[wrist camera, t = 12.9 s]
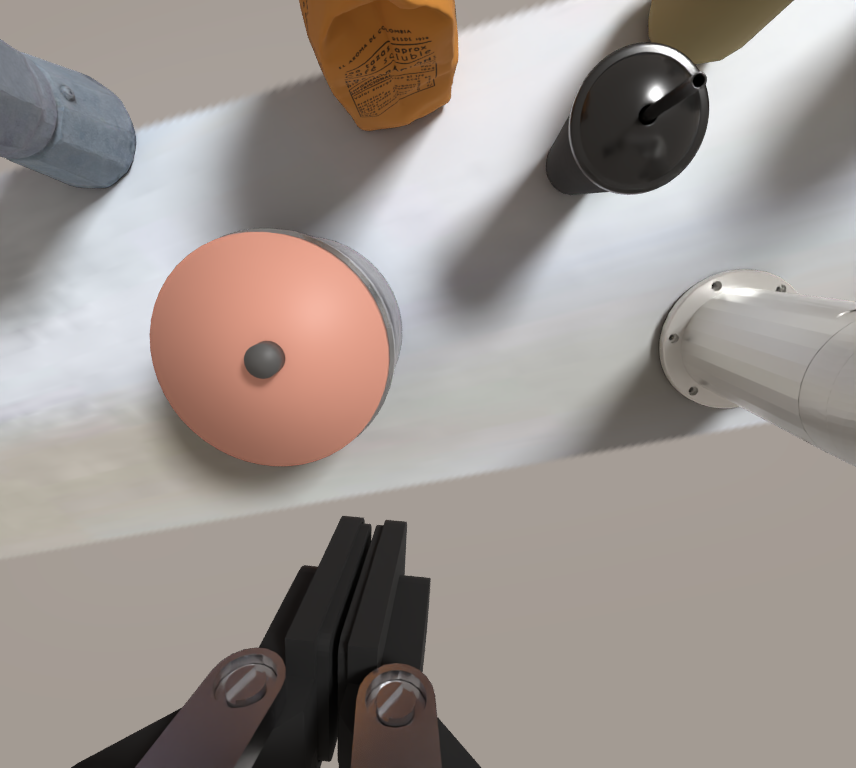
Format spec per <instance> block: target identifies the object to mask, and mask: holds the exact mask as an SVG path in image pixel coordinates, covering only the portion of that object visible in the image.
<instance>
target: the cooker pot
mask: <svg viewBox="0 0 856 768" xmlns="http://www.w3.org/2000/svg"><path fill="white" fill-rule="evenodd" d="M244 232H270V233H278V234H286V235H290V236H294V237H297V238H301V239H304V240H306V241H309V242H311V243H314V244H316V245H318V246H320V247H322V248H323V249H325V250H327V251H329V252H330V253H332V254H333V255H335V256H336V257H337V258H339V259H340V260H341V261H343V262H344V263H345V264H346V265H347V266H348V267H349V268H350V269H351V270H352V271H353V272H354V273H356V274H357V276H358V277H359V278H360V279H361V281H362V282H363V283H364V284H365V286H366V287H367V288H368V290H369V292H370V293H371V295H372V296H373V298H374V300H375V301H376V304H377V306H378V308H379V310H380V312H381V315H382V317H383V321H384V324H385V327H386V330H387V336H388V342H389V356H390V362H389V372H388V378H387V382H386V387H385V390H384V393H383V395H382V398H381V400H380V403H379V405H378V407H377V409H376V411H375V413H374V415H373V416H372V418H371V420H370V421H369V422H368V424H367V425H366V426H365V428H364V429H363V430H362V431H361V432H360V433H359V434H358V435H357V436H356V437H358V436H359V435H360V434H361V433H362V432H363V431H364V430H365V429H366V428H367V427H368V426H369V425H370V423H371V422H372V421H373V419H374V418H375V417H376V415H377V414H378V412H379V410H380V409H381V407H382V405H383V403H384V401H385V399H386V396H387V394H388V391H389V389H390V386H391V382H392V378H393V374H394V369H395V366H396V363H397V361H398V358H399V354H400V350H401V343H402V322H401V316H400V311H399V307H398V304H397V301H396V299H395V296H394V294H393V292H392V290H391V288H390V286H389V285H388V283H387V281H386V280H385V278H384V277H383V276H382V274H381V273H380V272H379V271H378V269H377V268H376V267H375V266H374V265H373V264H372V263H371V262H370V261H369V260H367V259H366V258H365V257H363V256H362V255H361V254H359V253H358V252H356V251H355V250H353V249H351V248H349V247H348V246H345V245H343V244H340V243H338V242H336V241H332V240H328V239H324V238H317V237H312V236H310V235H307V234H303V233H299V232H295V231H291V230H283V229H275V228H254V229H248V230H241V231H237V232H234V233H231V234H237V233H244ZM231 234H227V235H231ZM227 235H224V236H227ZM224 236H222V237H224ZM220 238H221V237H220ZM356 437H355V438H356ZM355 438H354V439H355ZM354 439H353V440H354Z"/></svg>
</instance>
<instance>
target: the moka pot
mask: <svg viewBox="0 0 856 768" xmlns="http://www.w3.org/2000/svg"><path fill="white" fill-rule="evenodd" d="M135 145H136V136H135V131H134V127H133V124H132V121H131V119H130V117H129V114H128V112H127V111H126V109H125V107H124V105H123V103H122V101H121V100H120V99H119V98H118V97H117V96H116V95H115V94H114V93H113V92H111V91H110V90H109V89H107V88H106V87H105V86H103V85H102V84H100V83H99V82H97V81H96V80H94V79H92V78H91V77H89V76H87V75H84V74H82V73H80V72H77V71H74V70H71V69H68V68H65V67H62V66H60V65H57V64H54V63H51V62H48V61H45V60H42V59H40V58H37V57H34V56H32V55H29V54H26V53H23V52H19V51H17V50H16V49H14V48H12V47H11V46H10V45H8V44H7V43H5V42H4V41H2V40H1V39H0V156H1V157H4V158H6V159H8V160H10V161H12V162H14V163H17V164H19V165H22V166H24V167H27V168H30V169H32V170H34V171H37V172H39V173H42V174H45V175H47V176H49V177H51V178H54V179H56V180H59V181H61V182H63V183H66V184H68V185H71V186H74V187H80V188H107V187H109V186H111V185H112V184H114V183H115V182H117V181H118V180H119V179H120V178H121V177H122V176H123V175H124V174H125V173H127V171H128V169H129V168H130V165H131V163H132V161H133V158H134V152H135Z"/></svg>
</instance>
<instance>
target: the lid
mask: <svg viewBox="0 0 856 768" xmlns="http://www.w3.org/2000/svg"><path fill="white" fill-rule="evenodd" d="M150 350H151V356H152V361H153V366H154V369H155V373H156V376H157V379H158V382H159V384H160V386H161V388H162V390H163V393H164V395H165V396H166V398H167V400H168V401H169V403H170V405H171V406H172V408H173V409H174V410H175V412H176V413H177V414H178V416H179V417H180V418H181V419H182V421H183V422H184V423H185V424H186V425H187V426H188V427H189V428H190V429H191V430H192V431H193V432H194V433H196V434H197V435H198V436H199V437H201V438H202V439H203V440H204V441H206V442H207V443H209V444H210V445H212V446H213V447H215V448H216V449H218V450H220V451H222V452H224V453H226V454H228V455H230V456H233V457H236V458H238V459H241V460H244V461H247V462H252V463H256V464H261V465H269V466H293V465H301V464H306V463H310V462H314V461H317V460H320V459H322V458H325V457H327V456H329V455H331V454H333V453H335V452H337V451H338V450H340V449H342V448H343V447H344V446H346V445H347V444H348V443H350V442H351V441H352V440H353V439H354V438H355V437H356V436H357V435H358V434H359V433H360V432H361V431H362V430H363V429H364V428H365V426H366V425H367V424H368V422H369V421H370V420H371V418H372V416H373V415H374V413H375V411H376V409H377V407H378V405H379V403H380V400H381V398H382V395H383V393H384V390H385V387H386V382H387V378H388V372H389V362H390V356H389V342H388V336H387V330H386V327H385V324H384V321H383V317H382V315H381V312H380V310H379V308H378V306H377V304H376V301H375V300H374V298H373V296H372V295H371V293H370V292H369V290H368V288H367V287H366V286H365V284H364V283H363V282H362V281H361V279H360V278H359V277H358V276H357V274H356V273H354V272H353V271H352V270H351V269H350V268H349V267H348V266H347V265H346V264H345V263H344V262H343V261H341V260H340V259H339V258H337V257H336V256H335V255H333V254H332V253H330V252H329V251H327V250H325V249H323V248H322V247H320V246H318V245H316V244H314V243H311V242H309V241H306V240H304V239H301V238H297V237H294V236H290V235H286V234H278V233H270V232H244V233H237V234H231V235H227V236H224V237H221V238H218V239H215V240H213V241H211V242H209V243H207V244H204V245H202V246H200V247H199V248H198V249H196V250H195V251H193V252H192V253H190V254H189V255H188V256H186V257H185V258H184V259H183V260H182V261H181V262H180V263H179V264H178V265H177V266H176V267H175V269H174V270H173V271H172V272H171V274H170V275H169V276H168V277H167V279H166V281H165V283H164V284H163V286H162V288H161V290H160V292H159V294H158V297H157V300H156V302H155V305H154V309H153V313H152V318H151V326H150Z"/></svg>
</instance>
